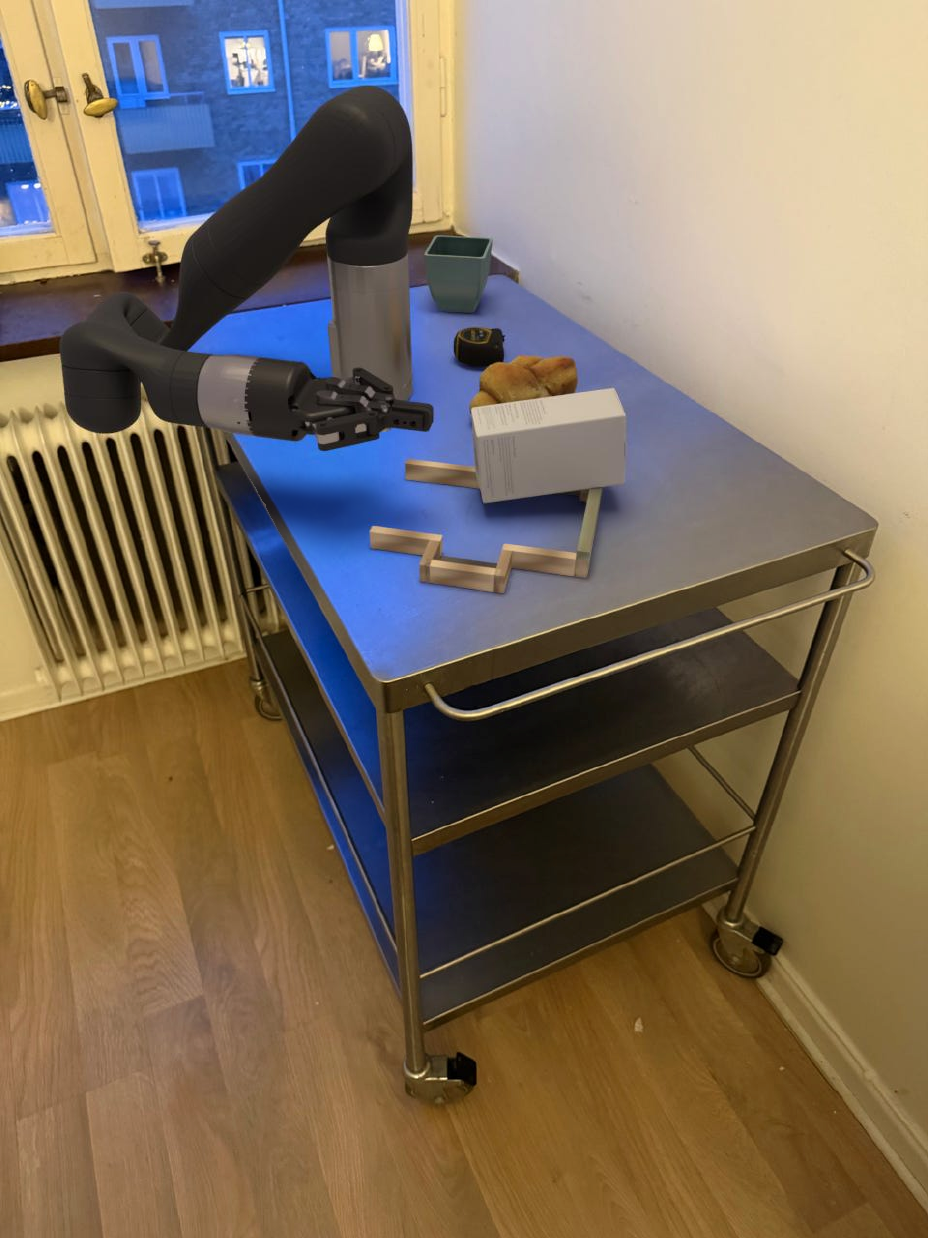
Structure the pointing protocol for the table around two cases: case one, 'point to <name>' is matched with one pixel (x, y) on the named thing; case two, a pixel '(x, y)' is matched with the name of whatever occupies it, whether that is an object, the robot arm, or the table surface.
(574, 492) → the trap lane
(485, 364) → the tape measure
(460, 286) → the flower pot
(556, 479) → the skincare box
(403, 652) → the table surface
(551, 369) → the bread roll
